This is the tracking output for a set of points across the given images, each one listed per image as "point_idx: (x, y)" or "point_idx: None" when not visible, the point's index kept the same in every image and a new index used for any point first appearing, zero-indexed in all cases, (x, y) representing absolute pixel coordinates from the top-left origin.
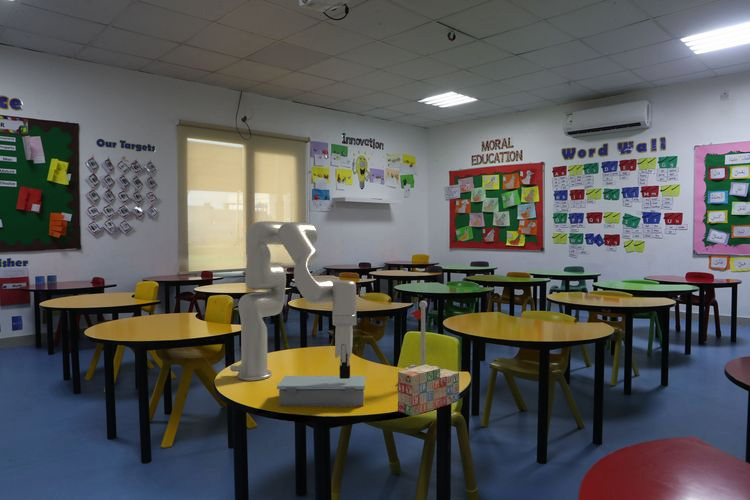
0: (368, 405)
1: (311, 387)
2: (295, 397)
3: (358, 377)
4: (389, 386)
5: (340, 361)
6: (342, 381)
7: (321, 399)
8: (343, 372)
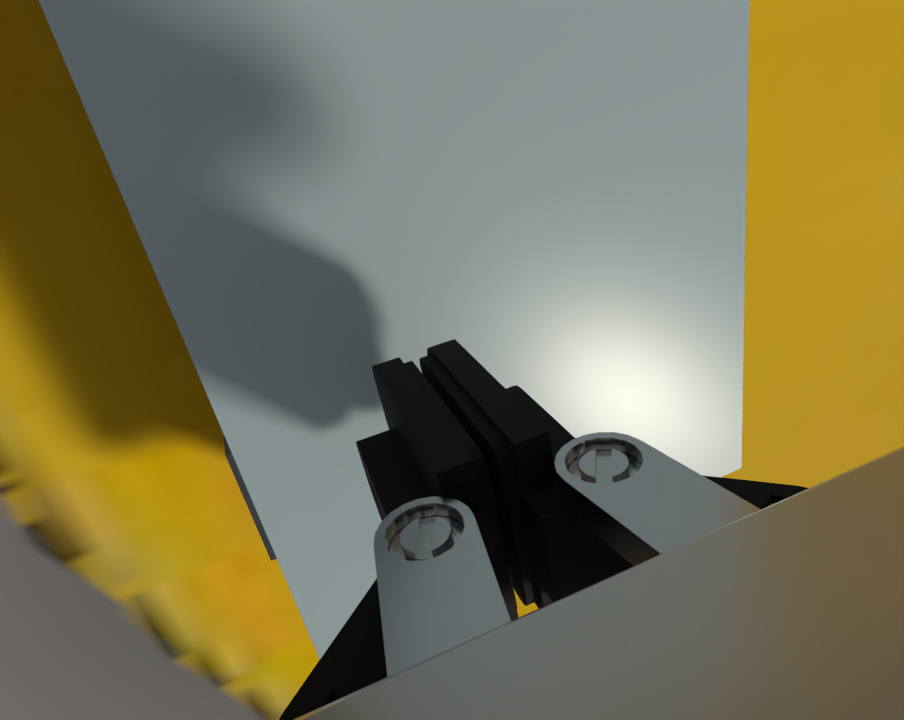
0: None
1: None
2: None
3: (678, 429)
4: (791, 479)
5: (387, 636)
6: (471, 326)
7: None
8: (375, 492)
